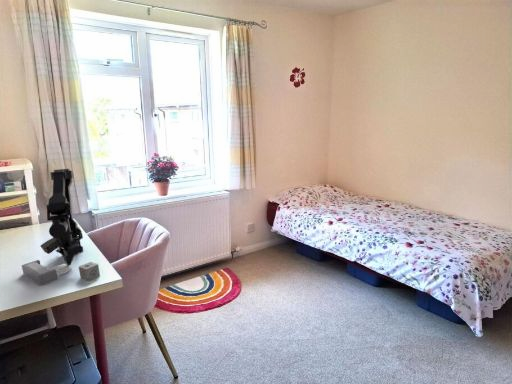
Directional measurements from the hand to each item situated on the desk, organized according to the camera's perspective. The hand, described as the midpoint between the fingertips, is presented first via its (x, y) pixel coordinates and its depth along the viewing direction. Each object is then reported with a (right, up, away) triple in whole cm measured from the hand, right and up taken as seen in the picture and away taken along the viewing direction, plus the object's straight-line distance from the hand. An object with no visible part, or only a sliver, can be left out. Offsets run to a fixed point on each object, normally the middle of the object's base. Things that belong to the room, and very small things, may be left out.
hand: (68, 265), depth 145 cm
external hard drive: (-4, -3, -5) cm, 7 cm away
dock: (-7, -3, -8) cm, 11 cm away
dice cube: (+14, -3, -10) cm, 18 cm away
